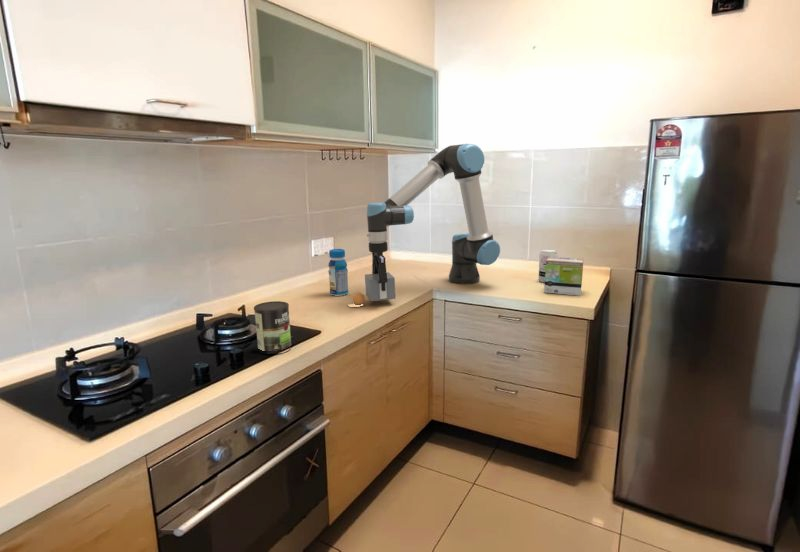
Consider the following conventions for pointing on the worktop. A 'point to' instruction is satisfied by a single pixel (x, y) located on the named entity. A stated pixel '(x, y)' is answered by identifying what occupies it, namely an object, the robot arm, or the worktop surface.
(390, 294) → the gray rectangular box
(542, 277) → the white carton
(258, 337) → the coffee can
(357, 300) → the ball
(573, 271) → the tea box
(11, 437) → the worktop surface
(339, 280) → the beverage bottle
